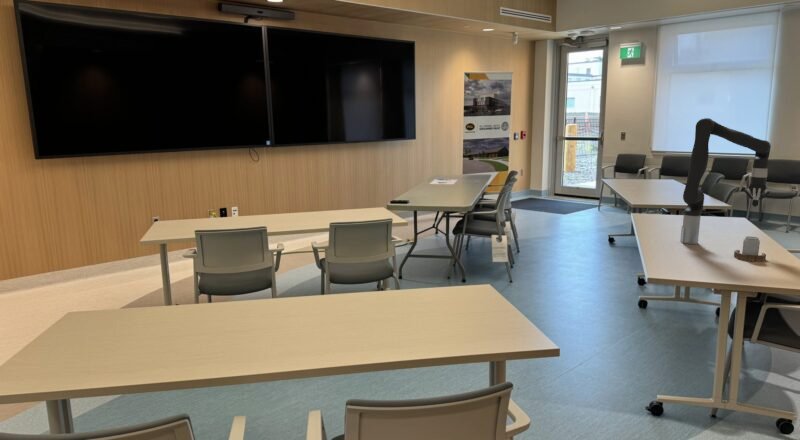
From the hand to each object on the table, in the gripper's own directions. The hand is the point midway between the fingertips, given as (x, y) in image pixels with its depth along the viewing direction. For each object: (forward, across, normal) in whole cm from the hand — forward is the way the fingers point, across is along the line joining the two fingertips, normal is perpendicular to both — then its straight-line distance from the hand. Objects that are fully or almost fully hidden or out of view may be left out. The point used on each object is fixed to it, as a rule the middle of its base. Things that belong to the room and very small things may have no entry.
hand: (755, 206), depth 310 cm
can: (+26, +2, -24) cm, 35 cm away
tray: (+26, +2, -22) cm, 34 cm away
